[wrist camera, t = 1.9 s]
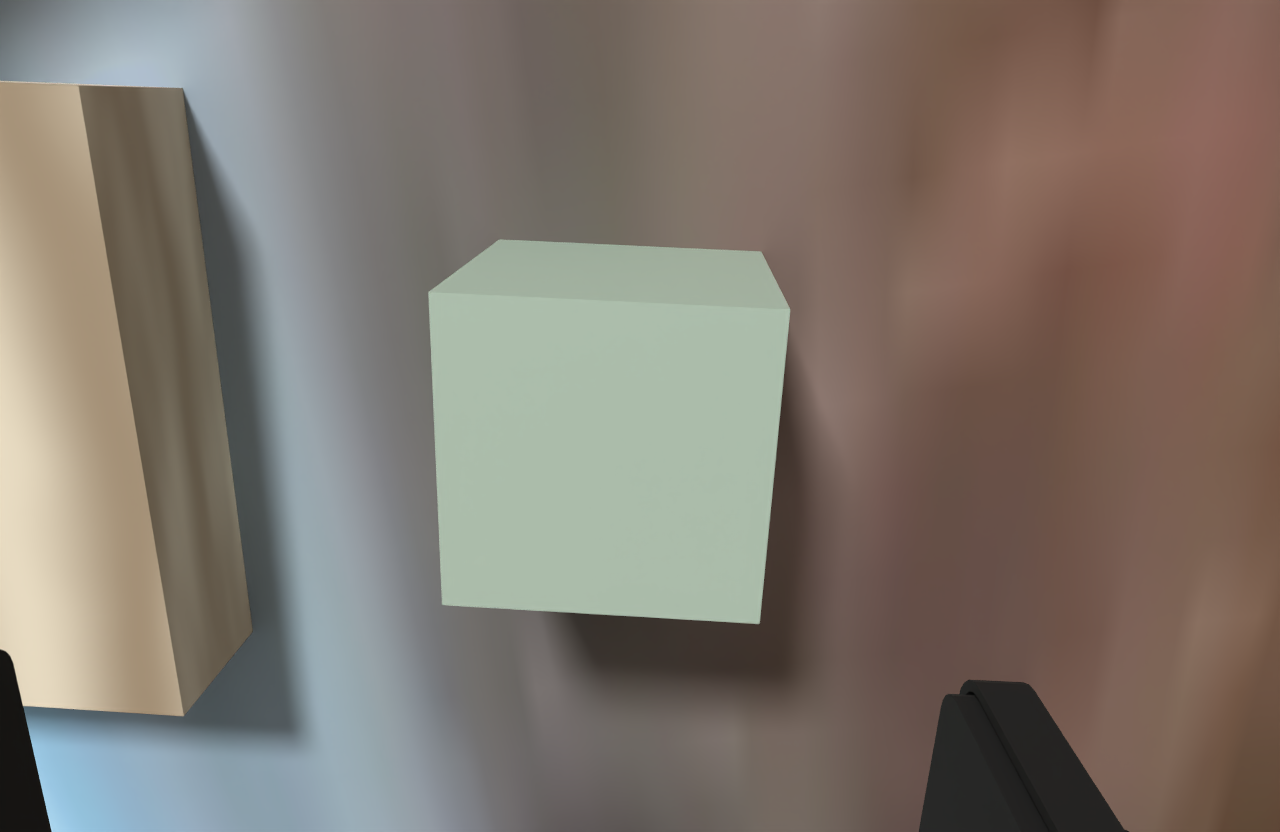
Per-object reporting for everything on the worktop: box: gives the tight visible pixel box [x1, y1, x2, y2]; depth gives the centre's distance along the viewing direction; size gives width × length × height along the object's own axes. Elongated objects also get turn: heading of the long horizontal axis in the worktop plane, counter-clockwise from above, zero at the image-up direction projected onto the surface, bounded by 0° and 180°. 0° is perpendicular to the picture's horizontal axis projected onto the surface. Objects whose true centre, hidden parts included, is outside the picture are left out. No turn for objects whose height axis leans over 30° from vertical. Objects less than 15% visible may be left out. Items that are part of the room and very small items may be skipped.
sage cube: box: [429, 240, 790, 624], centre depth 18 cm, size 6×6×6 cm
